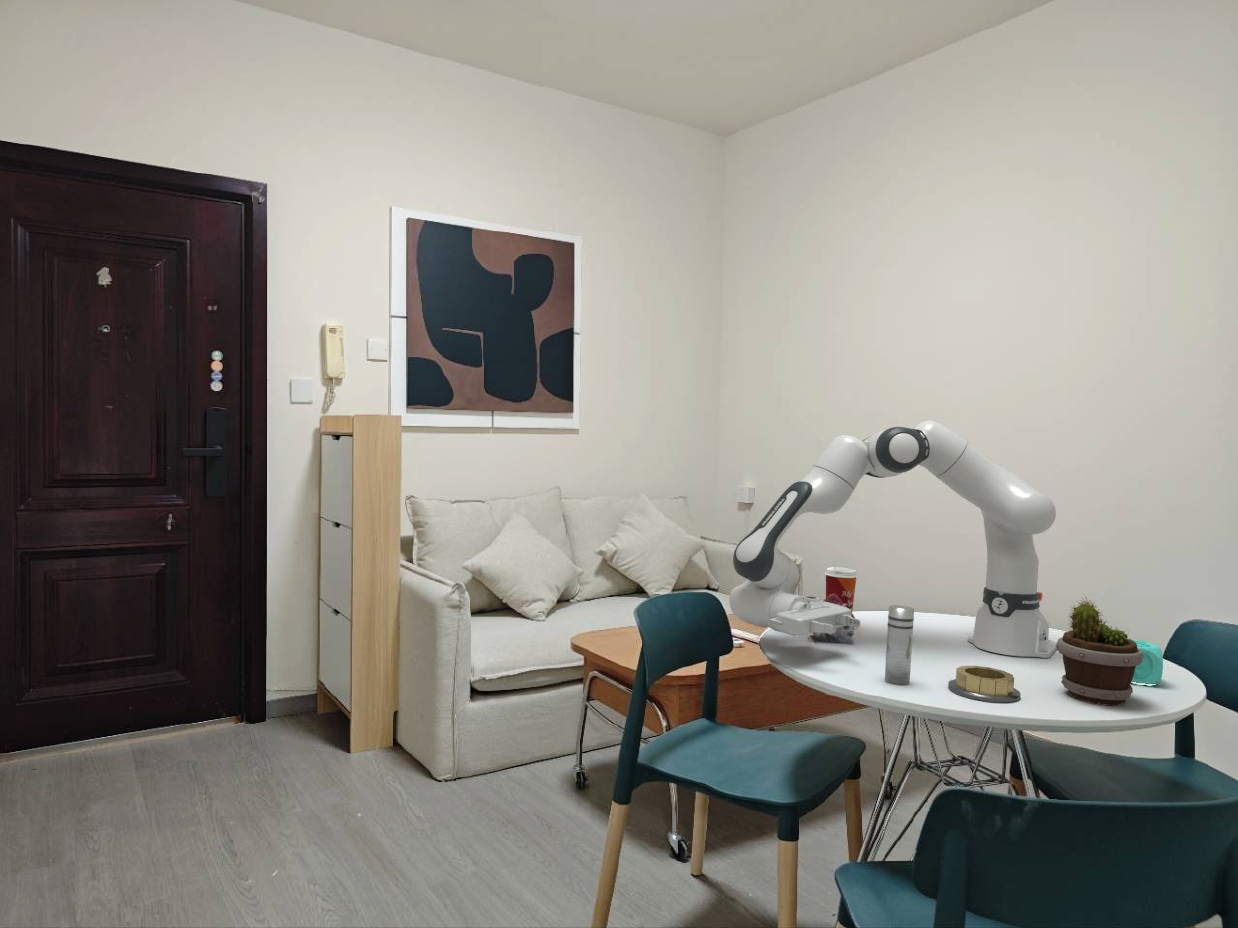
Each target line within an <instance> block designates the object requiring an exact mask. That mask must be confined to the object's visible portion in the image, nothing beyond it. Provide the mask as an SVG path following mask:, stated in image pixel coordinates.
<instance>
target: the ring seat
mask: <svg viewBox="0 0 1238 928" xmlns="http://www.w3.org/2000/svg"><path fill="white" fill-rule="evenodd" d="M947 684H948V685H947V688H948V690H949V691H950V692H952V693H953V694H956V695H957V696H960V697H963V698H966V699H970V700H974V701H979V702H984V703H985V702H987V703H994V704H1011V703H1016V702H1018V701H1020V700H1021V695H1022V694H1021V692H1020V691H1019V690H1018V689H1017V688H1015V677H1014V676H1013V674H1012V673H1010V672H1007V671H1005V670H1001V669H998V668H994V667H988V666H980V665H961V666H959V667H956V670H955V679H954V678H953V679H951V680H949V681H948V683H947Z"/></svg>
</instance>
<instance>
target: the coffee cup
mask: <svg viewBox="0 0 1238 928" xmlns="http://www.w3.org/2000/svg"><path fill="white" fill-rule="evenodd" d="M824 575H825V599H826V598H827V597H828V596H829V595H831V594H836V595H837V596H838V598H839V599H840V600H841V601H842V602H843V603H844V604H846V607H847V608H848V609H850V610H851V613H852V614H853V609H854V602H855V601H854V600H855V593H856V584H857V578H858V577H859V575H858V574H857V570H856V569H854V568H849V567H848V568H847V567H841V566H840V567H839V566H833V567H832V566H831V567H827V568H826V570H825V572H824ZM832 600H834V598H833V599H832ZM838 605H839V604H838ZM840 606H841V605H840Z"/></svg>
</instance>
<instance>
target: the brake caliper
mask: <svg viewBox="0 0 1238 928" xmlns="http://www.w3.org/2000/svg"><path fill="white" fill-rule="evenodd" d="M833 598H834V600H832V599H833ZM823 601H825V602H829V603H833V604H837V605H838V604H839V605H841V606H844V607H846V604H844V603H843V602H842V601H841V600H840V599H839V598H838V596H837V595H836V594H831V595H829V596H828V597H827V598H826V597H825V599H824V600H823ZM851 617H853V618H855V619H857V618H856V617H855V615H854V613H853V612H852V613H851ZM808 635H809V636H808V637H807V639H808V640H809V642H810V643H812V644H816V642H817V641H818V642H822V643H823V642H825V643H828V642H829V643H838V644H839V643H841V644H842V643H843V644H846V643H848V641H849V640H850V639H851V638H852V637H853V636H854V635H855V628H852V627H849V626H848V625H847V626H843V627H838V628H836V632H835V633H832V634H828V633H817V632H816V633H812V634H808ZM816 640H817V641H816Z"/></svg>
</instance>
